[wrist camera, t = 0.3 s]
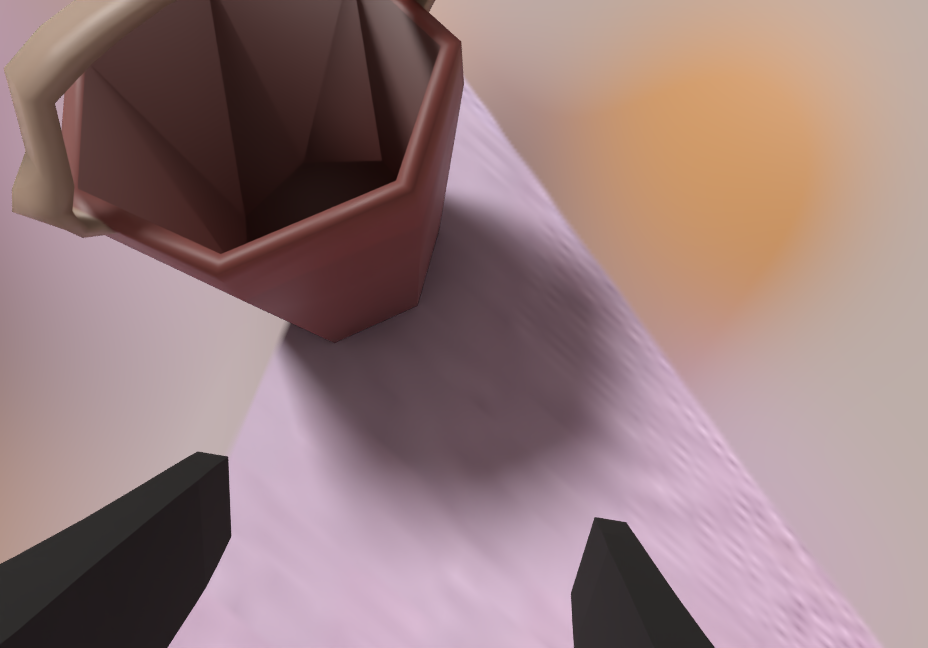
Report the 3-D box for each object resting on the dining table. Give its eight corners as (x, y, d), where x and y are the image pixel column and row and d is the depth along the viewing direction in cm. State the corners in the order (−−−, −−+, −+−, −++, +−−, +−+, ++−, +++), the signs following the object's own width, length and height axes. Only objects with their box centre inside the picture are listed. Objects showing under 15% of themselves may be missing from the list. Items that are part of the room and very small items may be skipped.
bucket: (242, 419, 41) (-93, 280, 17) (175, 205, 48) (-121, -91, 25) (520, 291, 43) (554, 23, 20) (415, 108, 51) (352, -241, 28)
